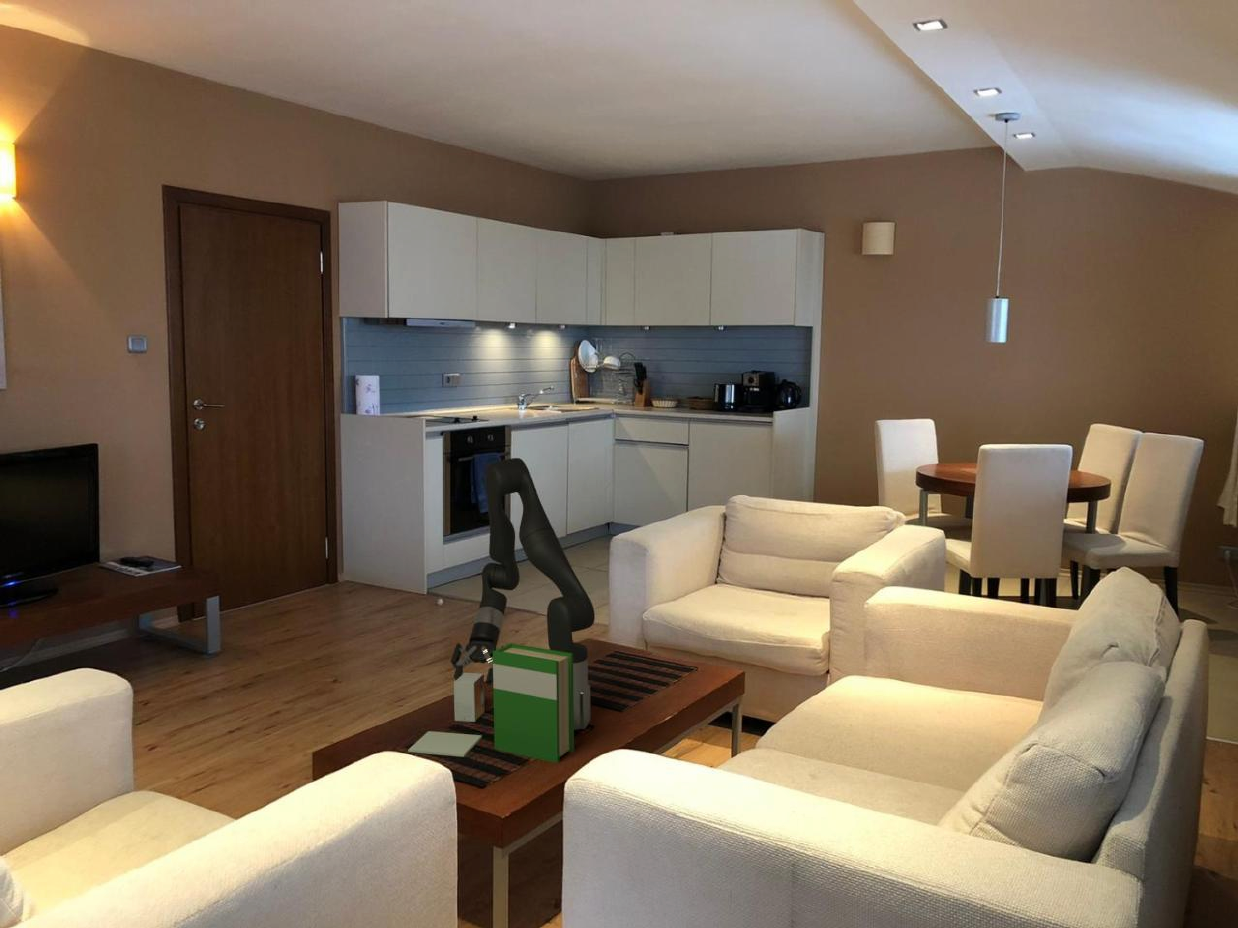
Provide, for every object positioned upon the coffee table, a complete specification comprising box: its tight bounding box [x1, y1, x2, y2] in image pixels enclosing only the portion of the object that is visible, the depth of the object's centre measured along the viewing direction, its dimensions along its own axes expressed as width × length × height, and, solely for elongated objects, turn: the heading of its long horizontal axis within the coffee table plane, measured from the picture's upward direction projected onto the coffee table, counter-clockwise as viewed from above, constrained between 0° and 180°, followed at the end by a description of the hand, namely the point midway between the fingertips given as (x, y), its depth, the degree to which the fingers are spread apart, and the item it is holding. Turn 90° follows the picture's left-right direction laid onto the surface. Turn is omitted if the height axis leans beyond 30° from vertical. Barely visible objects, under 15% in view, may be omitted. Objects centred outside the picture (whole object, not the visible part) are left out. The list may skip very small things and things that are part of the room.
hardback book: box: [492, 643, 575, 764], centre depth 238 cm, size 18×7×24 cm, turn 62°
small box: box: [453, 672, 485, 723], centre depth 261 cm, size 8×6×10 cm
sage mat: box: [407, 730, 483, 758], centre depth 243 cm, size 14×12×1 cm
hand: (472, 682), depth 263 cm, fingers open, 8 cm apart
